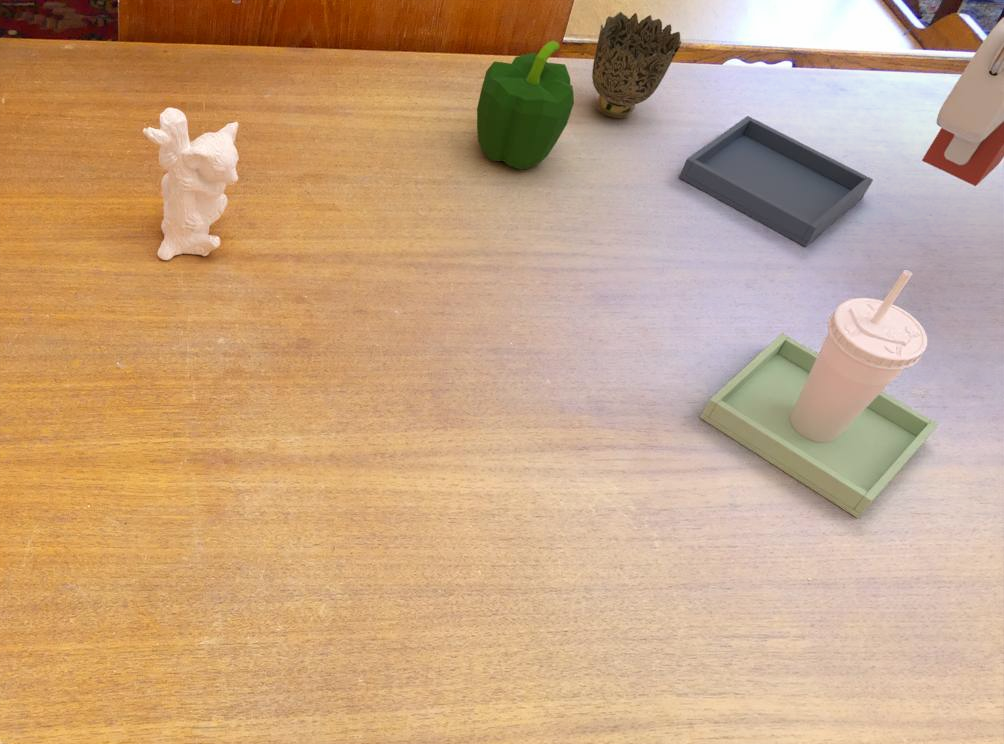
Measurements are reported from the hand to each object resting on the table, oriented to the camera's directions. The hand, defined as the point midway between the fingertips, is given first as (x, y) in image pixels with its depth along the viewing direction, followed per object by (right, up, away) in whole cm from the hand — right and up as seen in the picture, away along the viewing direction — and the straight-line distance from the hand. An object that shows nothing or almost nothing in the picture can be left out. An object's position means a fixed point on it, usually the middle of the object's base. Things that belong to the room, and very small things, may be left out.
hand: (972, 144), depth 87 cm
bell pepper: (-32, +5, +17) cm, 37 cm away
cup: (-21, +12, +22) cm, 33 cm away
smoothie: (-14, -22, -3) cm, 27 cm away
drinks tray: (-14, -23, -3) cm, 27 cm away
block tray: (-8, +2, +16) cm, 18 cm away
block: (0, -1, +1) cm, 2 cm away
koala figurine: (-62, -6, +6) cm, 62 cm away
